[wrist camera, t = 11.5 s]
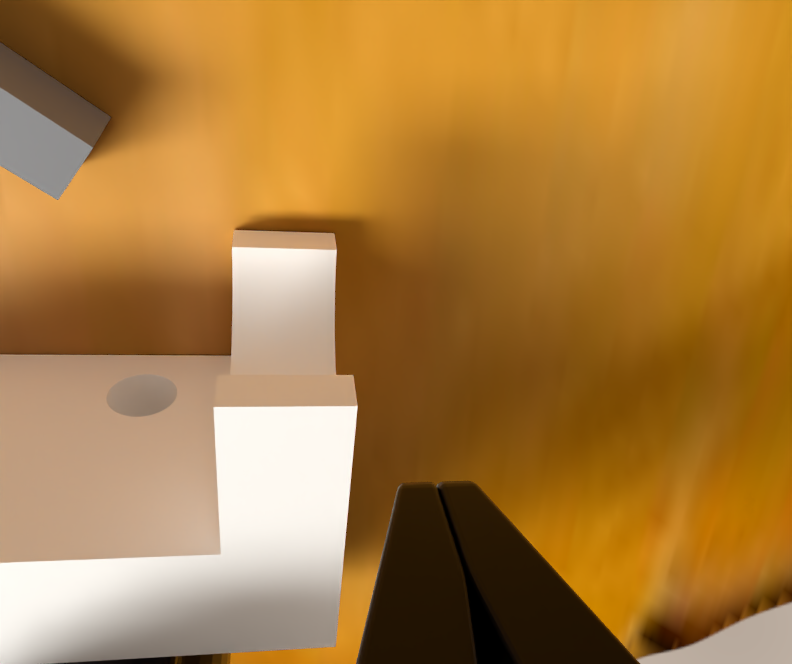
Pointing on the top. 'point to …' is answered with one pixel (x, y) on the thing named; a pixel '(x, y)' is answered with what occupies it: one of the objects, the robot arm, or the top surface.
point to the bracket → (183, 481)
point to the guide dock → (43, 125)
